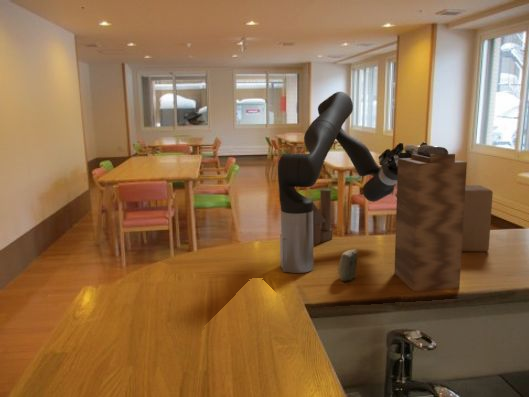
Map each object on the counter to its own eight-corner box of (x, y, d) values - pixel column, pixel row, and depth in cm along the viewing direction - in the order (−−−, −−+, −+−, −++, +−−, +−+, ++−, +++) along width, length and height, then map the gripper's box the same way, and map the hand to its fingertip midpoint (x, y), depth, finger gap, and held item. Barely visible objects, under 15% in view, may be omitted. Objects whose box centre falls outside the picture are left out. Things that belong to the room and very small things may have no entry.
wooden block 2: (478, 243, 153) (482, 185, 149) (489, 252, 143) (494, 189, 139) (447, 243, 154) (450, 185, 150) (456, 252, 144) (460, 190, 140)
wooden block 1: (306, 243, 157) (305, 192, 154) (324, 237, 165) (324, 188, 161) (314, 245, 154) (314, 193, 151) (332, 239, 162) (333, 189, 159)
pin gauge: (432, 161, 109) (435, 146, 108) (401, 154, 130) (403, 141, 129) (447, 162, 109) (449, 147, 109) (413, 155, 130) (415, 142, 129)
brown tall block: (413, 291, 114) (418, 155, 107) (394, 273, 126) (398, 150, 120) (459, 288, 114) (467, 153, 108) (436, 271, 127) (442, 149, 121)
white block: (358, 283, 119) (359, 254, 118) (338, 283, 120) (338, 254, 118) (356, 276, 125) (356, 248, 123) (337, 275, 125) (337, 248, 124)
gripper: (369, 159, 141) (386, 133, 125) (414, 157, 142) (436, 132, 126) (372, 181, 139) (390, 158, 123) (418, 180, 140) (441, 156, 124)
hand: (413, 145), depth 125 cm, fingers open, 6 cm apart
